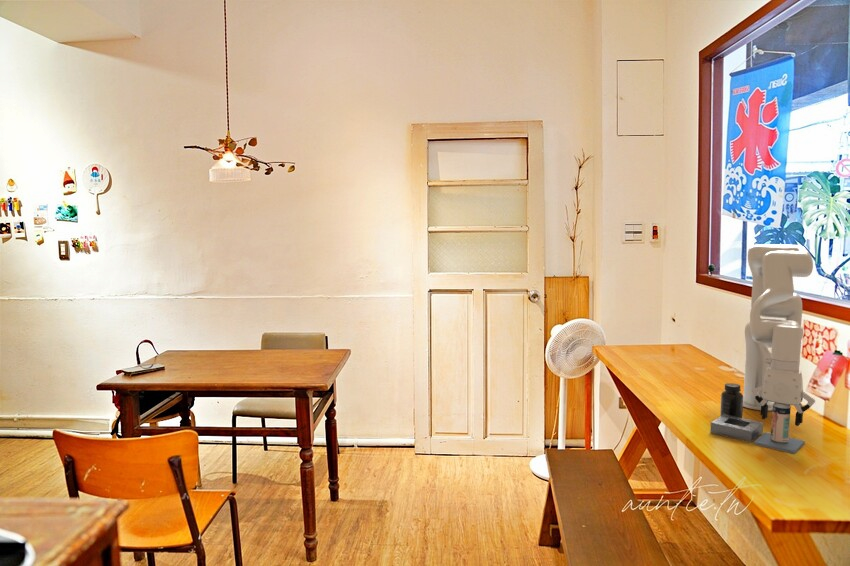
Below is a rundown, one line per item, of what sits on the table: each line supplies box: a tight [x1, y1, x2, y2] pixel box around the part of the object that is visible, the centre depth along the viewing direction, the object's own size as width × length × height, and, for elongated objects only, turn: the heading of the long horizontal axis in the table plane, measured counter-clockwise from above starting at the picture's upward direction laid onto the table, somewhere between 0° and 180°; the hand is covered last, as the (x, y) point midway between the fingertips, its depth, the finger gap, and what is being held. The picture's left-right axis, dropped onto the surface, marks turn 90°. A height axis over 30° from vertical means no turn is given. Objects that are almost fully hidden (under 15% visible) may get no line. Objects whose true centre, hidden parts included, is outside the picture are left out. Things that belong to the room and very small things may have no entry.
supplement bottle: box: [719, 382, 744, 418], centre depth 213 cm, size 7×7×12 cm
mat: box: [753, 432, 806, 455], centre depth 190 cm, size 12×11×1 cm
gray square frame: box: [709, 414, 764, 443], centre depth 199 cm, size 12×12×4 cm
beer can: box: [770, 402, 792, 443], centre depth 189 cm, size 5×5×12 cm
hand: (780, 421), depth 189 cm, fingers open, 8 cm apart
